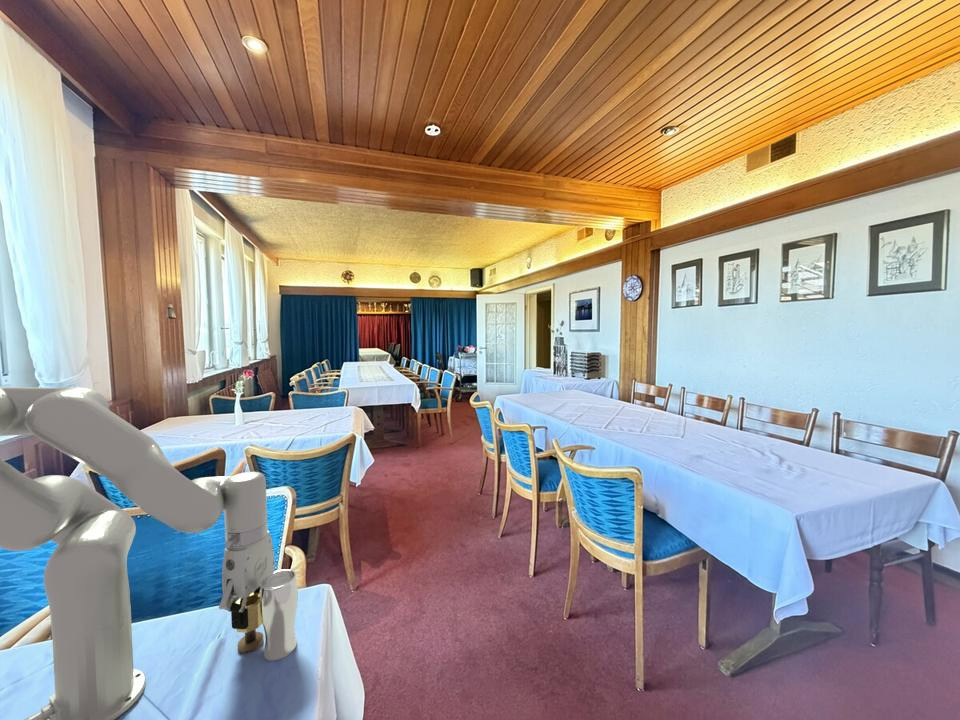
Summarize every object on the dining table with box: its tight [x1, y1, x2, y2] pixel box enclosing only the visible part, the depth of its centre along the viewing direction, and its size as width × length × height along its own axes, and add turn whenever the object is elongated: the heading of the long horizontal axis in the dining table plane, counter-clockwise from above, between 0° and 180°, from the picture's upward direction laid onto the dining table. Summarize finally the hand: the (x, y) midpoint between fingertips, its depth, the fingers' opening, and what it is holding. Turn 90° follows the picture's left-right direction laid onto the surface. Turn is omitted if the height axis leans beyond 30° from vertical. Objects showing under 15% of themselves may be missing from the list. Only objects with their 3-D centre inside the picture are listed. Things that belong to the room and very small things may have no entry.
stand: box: [237, 605, 264, 654], centre depth 79 cm, size 5×5×8 cm
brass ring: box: [236, 593, 263, 634], centre depth 79 cm, size 5×5×5 cm
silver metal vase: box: [259, 568, 299, 662], centre depth 78 cm, size 7×7×15 cm
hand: (250, 616), depth 79 cm, fingers closed on brass ring, 5 cm apart
